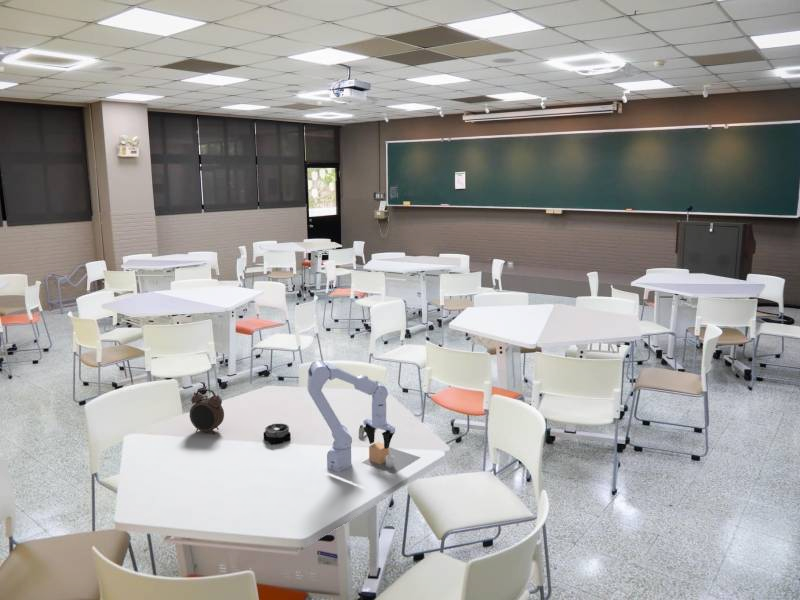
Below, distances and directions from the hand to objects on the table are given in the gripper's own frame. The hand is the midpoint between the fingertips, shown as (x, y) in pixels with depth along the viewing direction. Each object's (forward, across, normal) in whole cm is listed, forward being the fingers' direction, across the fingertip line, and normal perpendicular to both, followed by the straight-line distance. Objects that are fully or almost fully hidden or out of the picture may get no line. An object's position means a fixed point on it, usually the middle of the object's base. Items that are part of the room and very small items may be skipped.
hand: (379, 445), depth 244 cm
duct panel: (+7, -4, -3) cm, 9 cm away
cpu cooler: (+7, +49, +10) cm, 51 cm away
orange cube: (+6, 0, 0) cm, 6 cm away
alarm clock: (+7, +80, +23) cm, 84 cm away
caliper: (+8, +23, -22) cm, 33 cm away
